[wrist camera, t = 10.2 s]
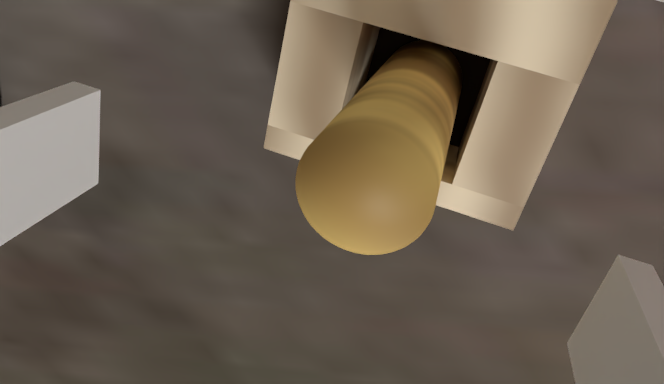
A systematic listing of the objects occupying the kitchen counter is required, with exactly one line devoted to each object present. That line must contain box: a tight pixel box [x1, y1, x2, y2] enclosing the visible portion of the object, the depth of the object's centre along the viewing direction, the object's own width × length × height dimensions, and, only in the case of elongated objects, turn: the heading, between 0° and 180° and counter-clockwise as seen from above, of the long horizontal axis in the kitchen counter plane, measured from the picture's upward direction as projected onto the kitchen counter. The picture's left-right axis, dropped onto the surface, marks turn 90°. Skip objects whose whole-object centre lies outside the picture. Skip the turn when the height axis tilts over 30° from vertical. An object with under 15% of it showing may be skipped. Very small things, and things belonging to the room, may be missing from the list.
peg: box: [296, 40, 463, 255], centre depth 21 cm, size 4×4×14 cm
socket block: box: [264, 0, 618, 230], centre depth 24 cm, size 12×14×5 cm
